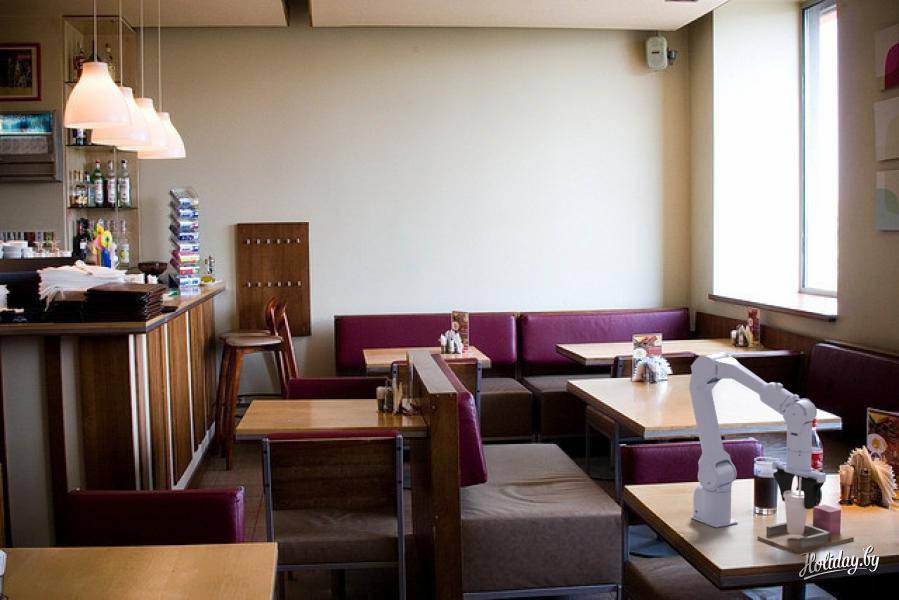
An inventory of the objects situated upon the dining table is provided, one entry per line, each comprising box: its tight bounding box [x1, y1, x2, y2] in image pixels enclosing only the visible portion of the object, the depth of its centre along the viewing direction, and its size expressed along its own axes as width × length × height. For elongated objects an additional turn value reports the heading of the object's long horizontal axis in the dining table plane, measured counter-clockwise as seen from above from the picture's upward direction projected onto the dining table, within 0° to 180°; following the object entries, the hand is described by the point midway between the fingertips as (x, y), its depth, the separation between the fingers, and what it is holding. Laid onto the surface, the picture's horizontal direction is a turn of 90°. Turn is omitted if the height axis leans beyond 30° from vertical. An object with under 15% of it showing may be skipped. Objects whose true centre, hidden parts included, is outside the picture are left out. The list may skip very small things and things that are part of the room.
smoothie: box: [783, 476, 809, 535], centre depth 225 cm, size 6×6×14 cm
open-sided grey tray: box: [757, 504, 855, 555], centre depth 227 cm, size 12×20×7 cm, turn 118°
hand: (797, 504), depth 225 cm, fingers closed on smoothie, 6 cm apart
